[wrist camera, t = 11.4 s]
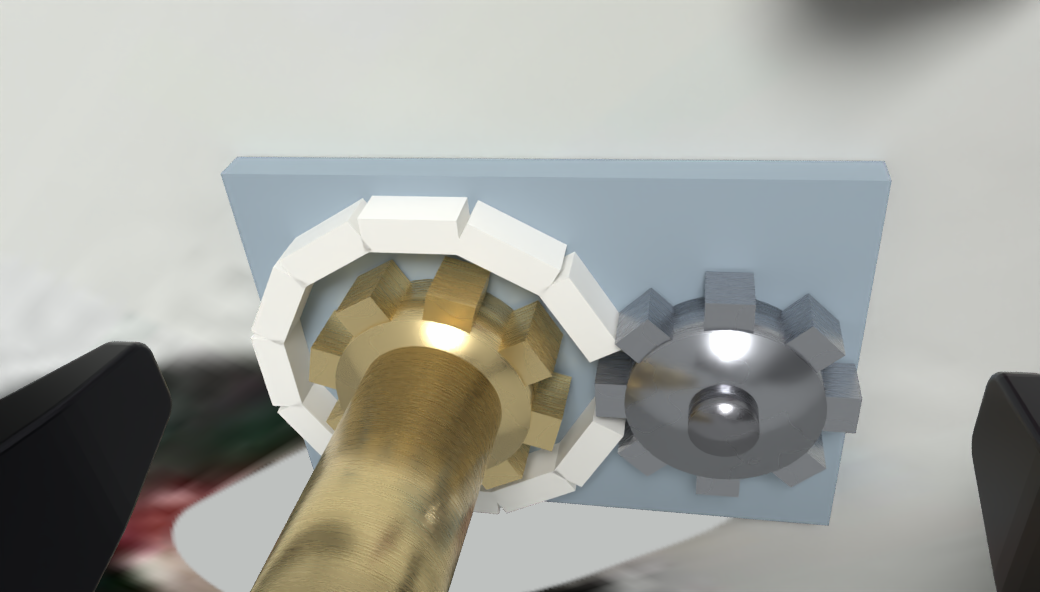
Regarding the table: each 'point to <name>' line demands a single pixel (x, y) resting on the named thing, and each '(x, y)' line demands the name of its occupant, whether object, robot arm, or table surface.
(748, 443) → the fixed gear
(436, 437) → the brass gear
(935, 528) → the table surface
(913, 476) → the table surface
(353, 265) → the gear board
